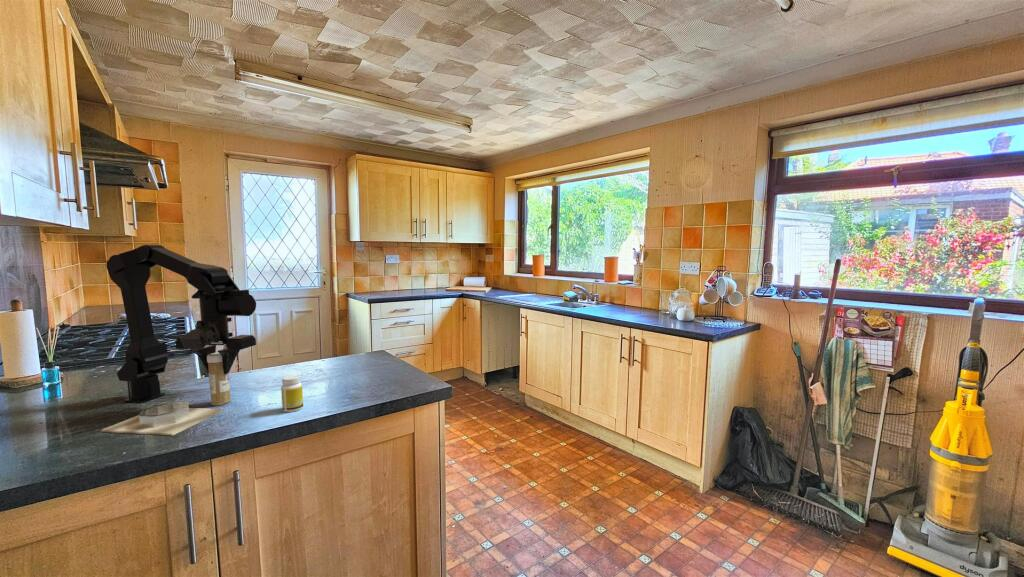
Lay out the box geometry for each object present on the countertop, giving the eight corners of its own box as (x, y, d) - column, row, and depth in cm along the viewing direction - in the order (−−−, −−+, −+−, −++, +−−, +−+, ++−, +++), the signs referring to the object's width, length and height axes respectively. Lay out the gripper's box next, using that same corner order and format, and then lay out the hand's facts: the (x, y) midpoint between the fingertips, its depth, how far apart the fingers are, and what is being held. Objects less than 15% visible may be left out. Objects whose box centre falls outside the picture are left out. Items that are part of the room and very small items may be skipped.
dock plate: (101, 431, 95) (101, 430, 95) (159, 408, 109) (159, 406, 109) (172, 435, 93) (172, 433, 93) (223, 410, 107) (223, 409, 107)
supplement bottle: (307, 406, 109) (305, 375, 108) (292, 413, 105) (290, 380, 104) (293, 404, 111) (291, 373, 110) (278, 411, 106) (276, 378, 105)
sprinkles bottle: (231, 403, 112) (227, 354, 110) (210, 407, 109) (206, 356, 108) (231, 398, 115) (227, 350, 114) (210, 402, 113) (207, 353, 112)
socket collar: (129, 426, 97) (128, 415, 97) (166, 411, 106) (165, 401, 106) (164, 427, 96) (164, 417, 96) (198, 412, 105) (198, 402, 105)
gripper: (152, 320, 103) (158, 382, 105) (222, 321, 101) (227, 384, 102) (192, 313, 114) (196, 369, 116) (255, 314, 112) (259, 371, 113)
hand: (218, 373), depth 112 cm, fingers closed on sprinkles bottle, 4 cm apart
